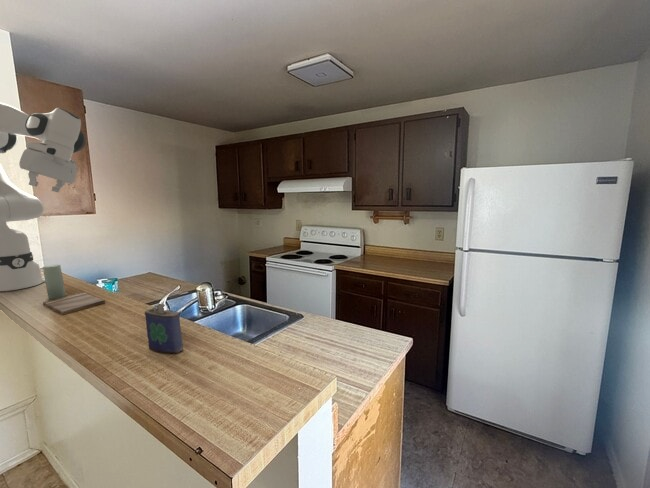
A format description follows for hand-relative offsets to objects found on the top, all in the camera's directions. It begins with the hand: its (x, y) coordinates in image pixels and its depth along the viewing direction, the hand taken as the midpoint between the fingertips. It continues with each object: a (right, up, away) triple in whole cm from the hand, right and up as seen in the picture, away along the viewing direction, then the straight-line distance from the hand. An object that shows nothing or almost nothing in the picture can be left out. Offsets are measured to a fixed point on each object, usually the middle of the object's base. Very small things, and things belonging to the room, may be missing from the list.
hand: (44, 188), depth 112 cm
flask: (+64, -46, -38) cm, 87 cm away
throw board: (+14, -41, -4) cm, 44 cm away
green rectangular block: (0, -40, +5) cm, 41 cm away
